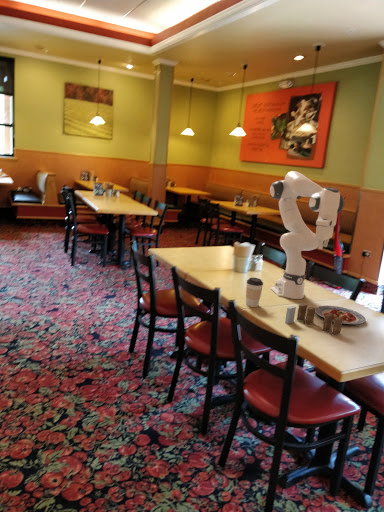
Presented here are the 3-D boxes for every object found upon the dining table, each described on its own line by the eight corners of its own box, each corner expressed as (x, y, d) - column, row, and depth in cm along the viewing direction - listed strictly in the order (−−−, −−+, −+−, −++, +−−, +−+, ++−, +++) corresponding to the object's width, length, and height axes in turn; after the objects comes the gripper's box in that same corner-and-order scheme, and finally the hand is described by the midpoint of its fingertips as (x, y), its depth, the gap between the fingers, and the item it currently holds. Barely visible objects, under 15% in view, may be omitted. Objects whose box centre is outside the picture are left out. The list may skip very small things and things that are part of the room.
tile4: (322, 330, 203) (325, 315, 201) (327, 328, 206) (330, 313, 204) (325, 331, 202) (328, 316, 200) (330, 329, 205) (333, 314, 203)
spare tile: (285, 322, 208) (287, 307, 206) (291, 321, 212) (293, 306, 210) (287, 324, 207) (290, 308, 205) (293, 322, 210) (296, 307, 209)
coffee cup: (255, 301, 236) (258, 276, 232) (263, 307, 228) (266, 281, 224) (240, 302, 233) (244, 276, 229) (248, 308, 224) (252, 281, 221)
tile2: (304, 323, 210) (307, 308, 208) (310, 321, 213) (313, 306, 211) (307, 324, 209) (310, 309, 207) (313, 322, 212) (315, 307, 210)
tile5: (331, 334, 199) (334, 318, 197) (337, 332, 202) (339, 316, 201) (334, 335, 198) (337, 319, 196) (340, 333, 201) (342, 318, 199)
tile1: (296, 320, 214) (299, 305, 212) (302, 318, 217) (304, 303, 215) (299, 321, 212) (301, 306, 211) (304, 319, 216) (307, 304, 214)
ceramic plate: (325, 305, 241) (326, 301, 240) (371, 319, 225) (372, 314, 225) (306, 316, 221) (307, 311, 221) (355, 332, 206) (356, 326, 205)
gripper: (325, 218, 218) (321, 244, 221) (315, 221, 201) (310, 249, 204) (338, 220, 215) (333, 246, 218) (328, 223, 198) (323, 251, 201)
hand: (322, 247), depth 211 cm, fingers open, 8 cm apart
